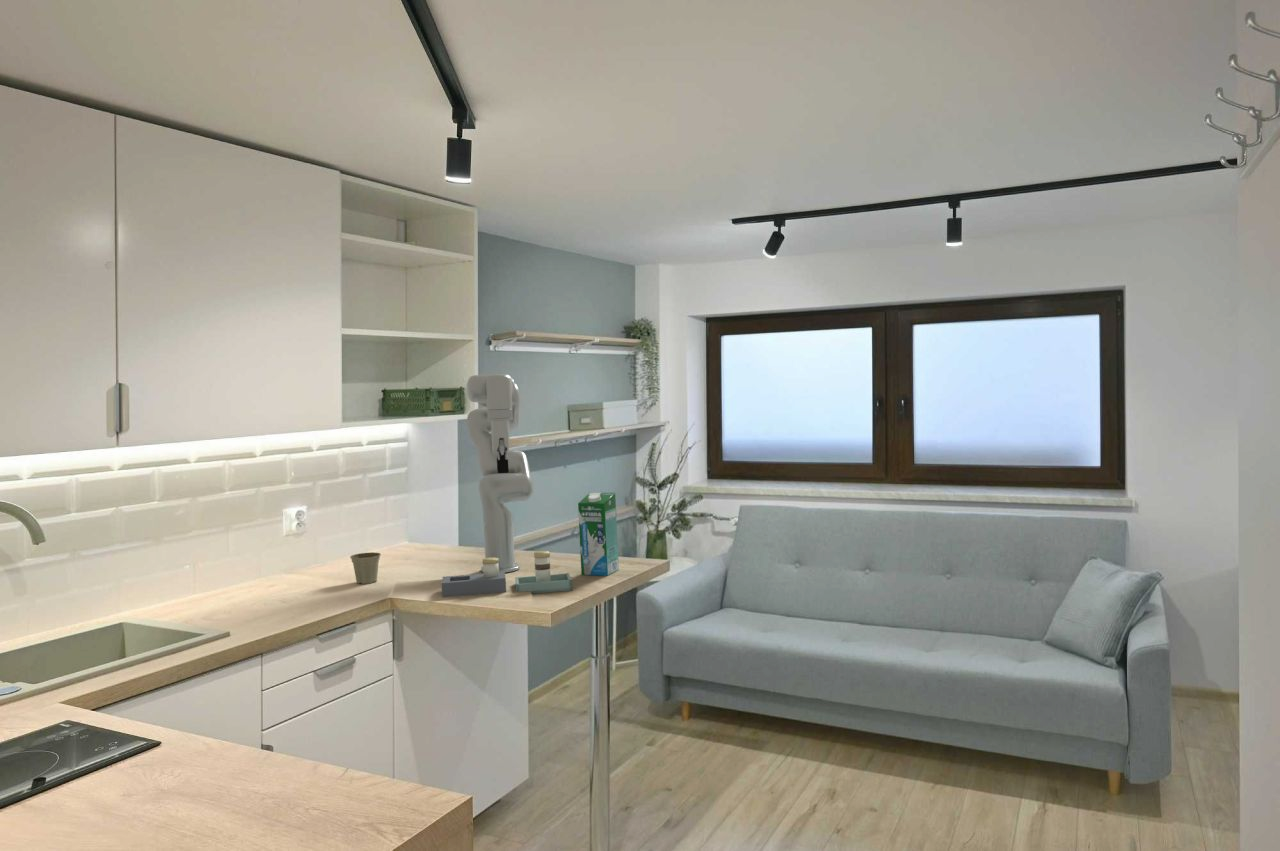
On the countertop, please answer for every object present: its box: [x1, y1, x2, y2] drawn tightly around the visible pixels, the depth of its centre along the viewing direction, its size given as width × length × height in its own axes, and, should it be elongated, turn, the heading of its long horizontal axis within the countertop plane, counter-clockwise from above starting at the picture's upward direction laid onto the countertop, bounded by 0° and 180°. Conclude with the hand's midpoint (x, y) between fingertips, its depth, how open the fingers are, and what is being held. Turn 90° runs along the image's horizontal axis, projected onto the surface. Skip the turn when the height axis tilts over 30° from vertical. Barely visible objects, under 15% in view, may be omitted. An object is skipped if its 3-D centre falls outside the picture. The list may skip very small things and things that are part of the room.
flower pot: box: [349, 552, 382, 585], centre depth 281 cm, size 9×9×9 cm
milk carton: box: [577, 492, 619, 577], centre depth 281 cm, size 9×9×25 cm
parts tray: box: [514, 573, 573, 595], centre depth 261 cm, size 10×16×3 cm, turn 100°
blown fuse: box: [533, 550, 552, 582], centre depth 261 cm, size 5×5×10 cm
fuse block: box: [441, 557, 507, 598], centre depth 258 cm, size 9×18×10 cm, turn 100°
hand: (502, 471), depth 269 cm, fingers open, 9 cm apart
